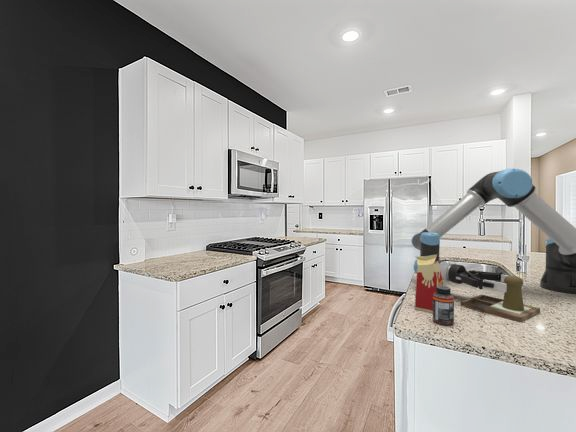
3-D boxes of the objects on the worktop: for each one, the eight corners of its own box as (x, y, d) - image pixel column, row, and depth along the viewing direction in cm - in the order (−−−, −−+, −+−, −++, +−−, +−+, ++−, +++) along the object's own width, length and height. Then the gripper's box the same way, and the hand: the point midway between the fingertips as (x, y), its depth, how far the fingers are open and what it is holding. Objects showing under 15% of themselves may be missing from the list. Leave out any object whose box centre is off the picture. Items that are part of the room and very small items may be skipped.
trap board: (481, 298, 116) (481, 294, 116) (540, 312, 100) (540, 307, 100) (460, 305, 107) (460, 301, 107) (521, 322, 91) (521, 317, 91)
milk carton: (445, 307, 105) (446, 253, 104) (438, 314, 98) (438, 256, 98) (419, 302, 111) (420, 250, 111) (410, 308, 104) (411, 253, 104)
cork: (519, 305, 102) (520, 275, 101) (527, 311, 96) (528, 279, 95) (499, 304, 104) (500, 273, 103) (505, 309, 98) (506, 277, 98)
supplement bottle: (435, 317, 96) (435, 283, 96) (455, 321, 92) (455, 286, 92) (430, 322, 92) (431, 287, 91) (451, 327, 88) (452, 290, 87)
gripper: (467, 277, 124) (528, 289, 106) (434, 286, 111) (498, 302, 93) (467, 260, 124) (529, 269, 106) (434, 267, 110) (498, 279, 92)
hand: (514, 284), depth 99 cm, fingers open, 13 cm apart
